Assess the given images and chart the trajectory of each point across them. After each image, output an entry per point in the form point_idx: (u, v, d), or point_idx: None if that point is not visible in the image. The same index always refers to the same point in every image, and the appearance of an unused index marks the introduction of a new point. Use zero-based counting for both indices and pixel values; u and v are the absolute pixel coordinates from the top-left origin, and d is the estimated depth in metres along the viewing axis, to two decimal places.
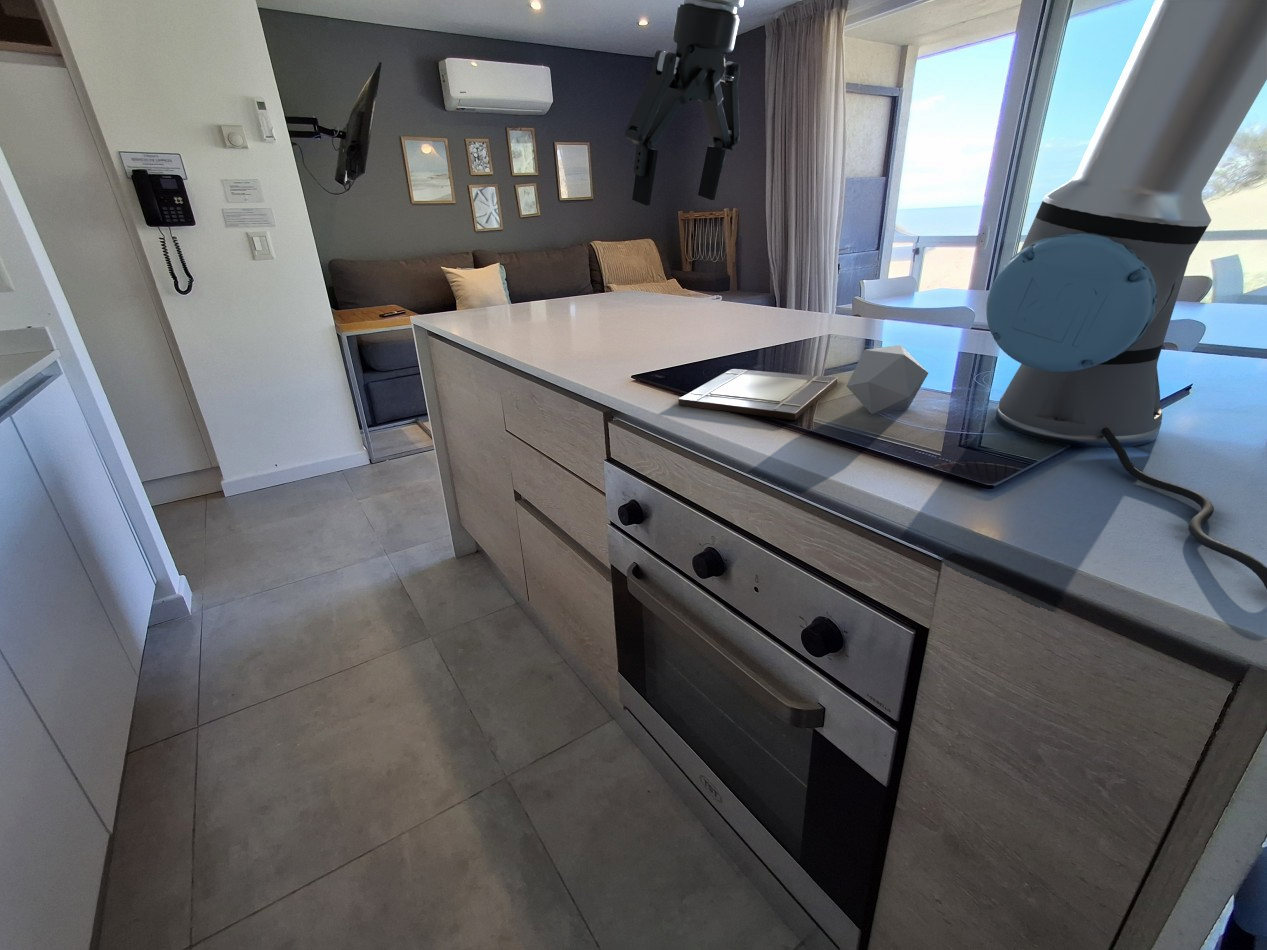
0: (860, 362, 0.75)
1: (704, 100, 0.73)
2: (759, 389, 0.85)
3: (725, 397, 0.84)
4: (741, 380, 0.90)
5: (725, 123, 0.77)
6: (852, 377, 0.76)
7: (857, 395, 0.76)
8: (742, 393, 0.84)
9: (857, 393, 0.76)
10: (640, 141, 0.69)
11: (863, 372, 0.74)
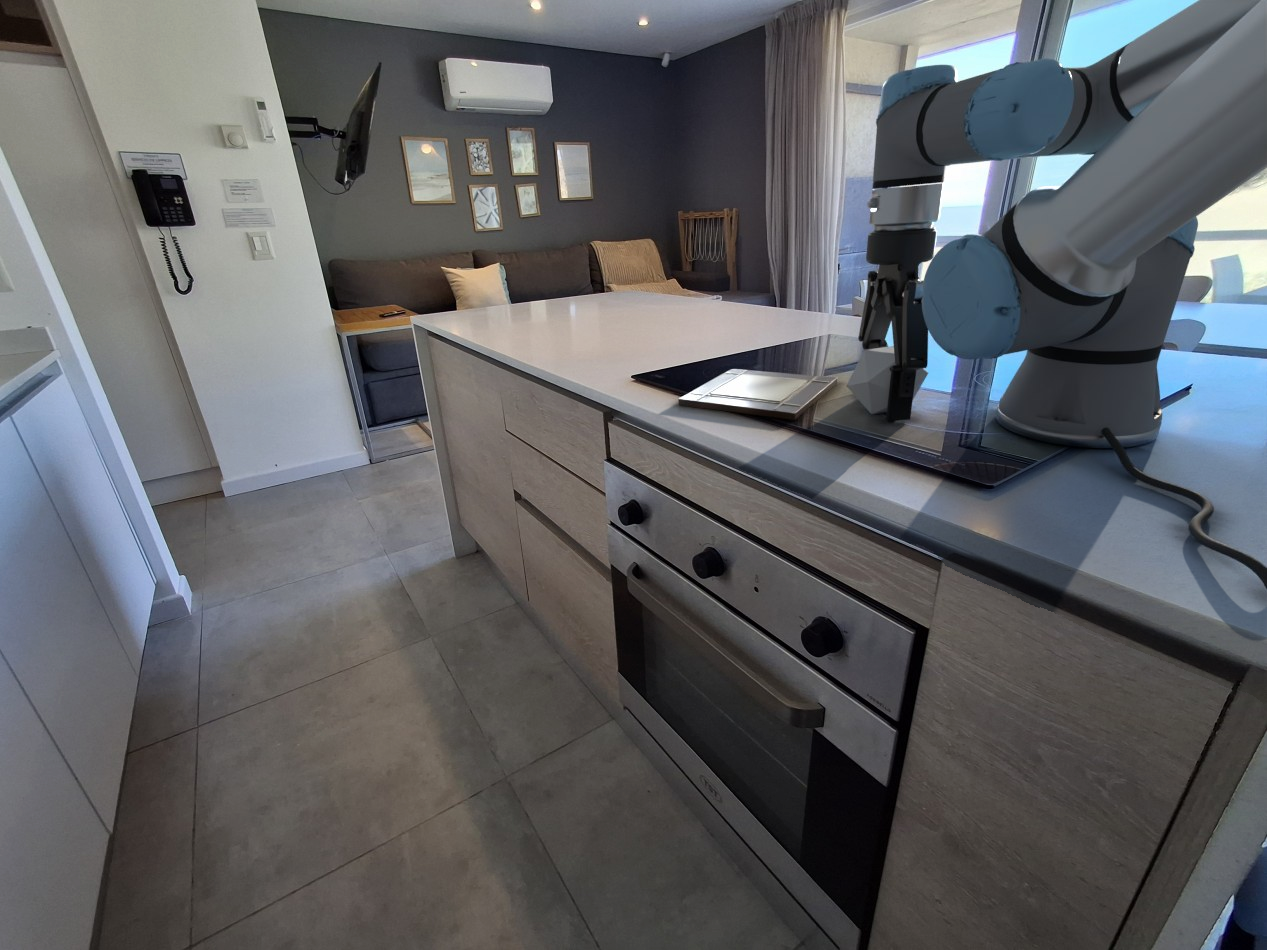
0: (860, 362, 0.75)
1: None
2: (759, 389, 0.85)
3: (725, 397, 0.84)
4: (741, 380, 0.90)
5: None
6: (852, 377, 0.76)
7: (857, 395, 0.76)
8: (742, 393, 0.84)
9: (857, 393, 0.76)
10: None
11: (863, 372, 0.74)
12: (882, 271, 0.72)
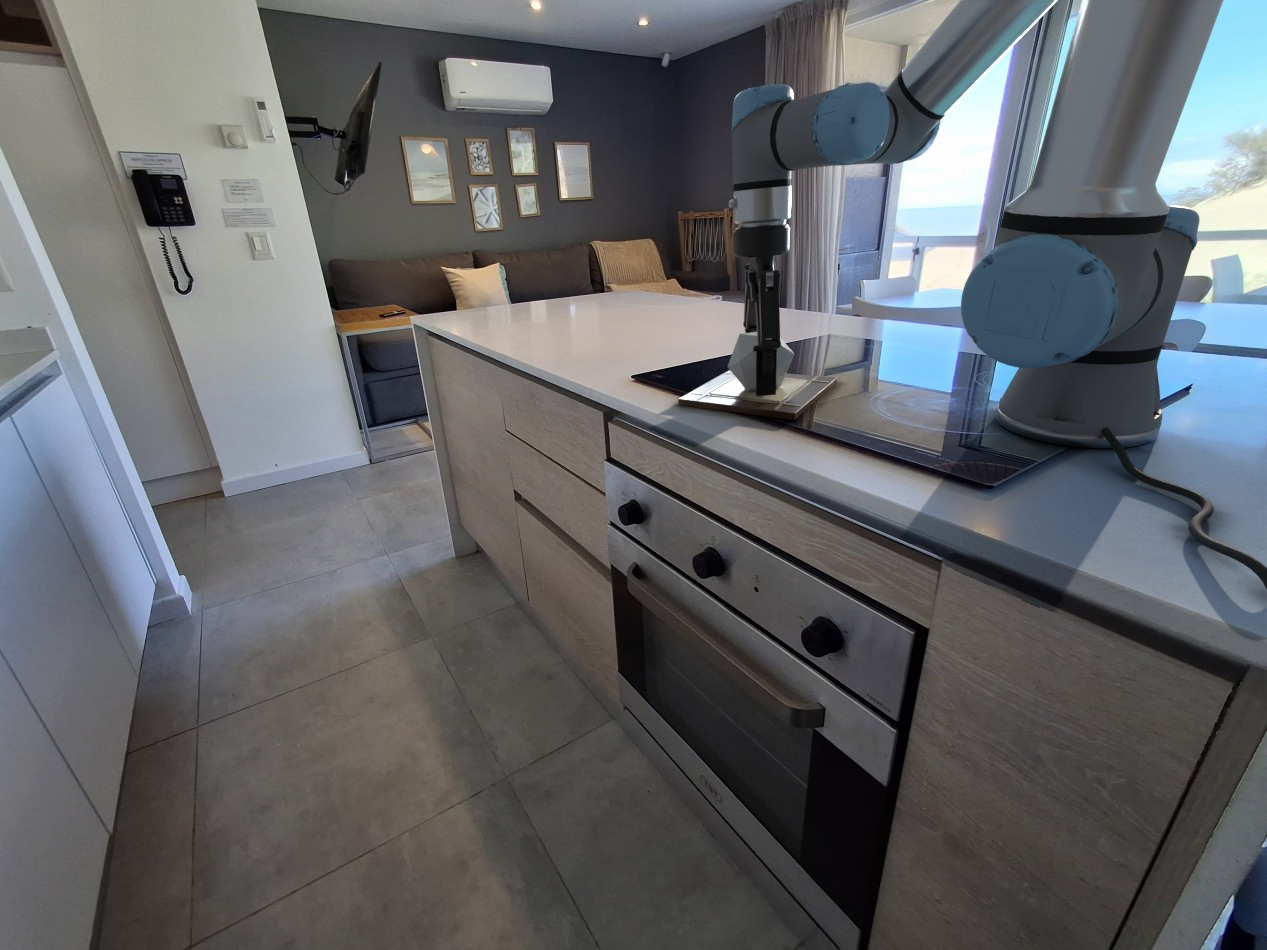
0: (736, 345, 0.84)
1: None
2: None
3: (725, 397, 0.84)
4: None
5: None
6: (731, 358, 0.86)
7: (735, 374, 0.85)
8: (742, 393, 0.84)
9: (735, 373, 0.85)
10: None
11: (737, 353, 0.83)
12: (750, 263, 0.81)
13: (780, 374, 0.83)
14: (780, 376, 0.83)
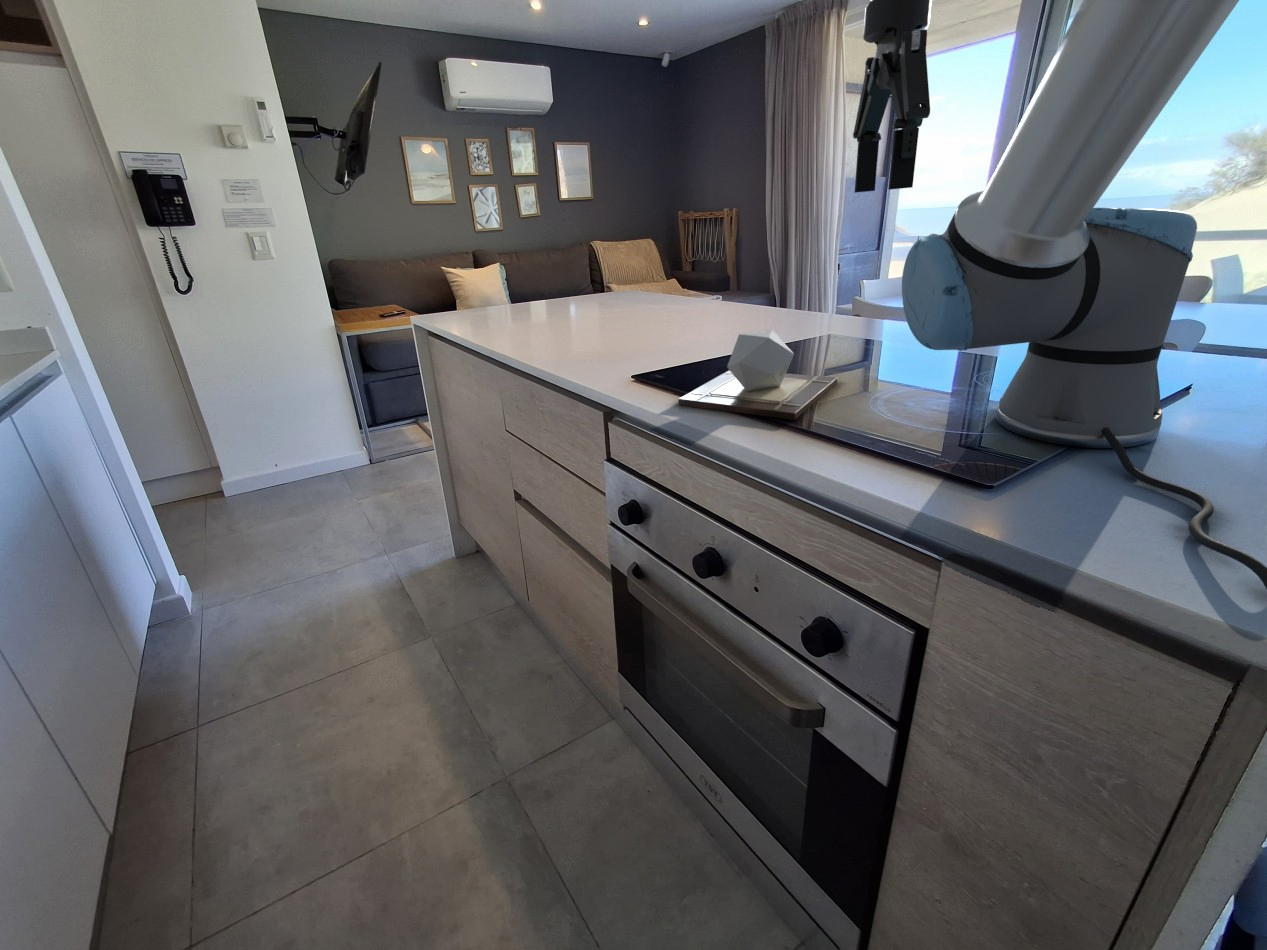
0: (736, 345, 0.84)
1: None
2: None
3: (725, 397, 0.84)
4: None
5: None
6: (730, 359, 0.86)
7: (735, 375, 0.86)
8: (742, 393, 0.84)
9: (734, 373, 0.85)
10: None
11: (737, 353, 0.83)
12: (879, 52, 0.74)
13: (780, 374, 0.83)
14: (780, 376, 0.83)
